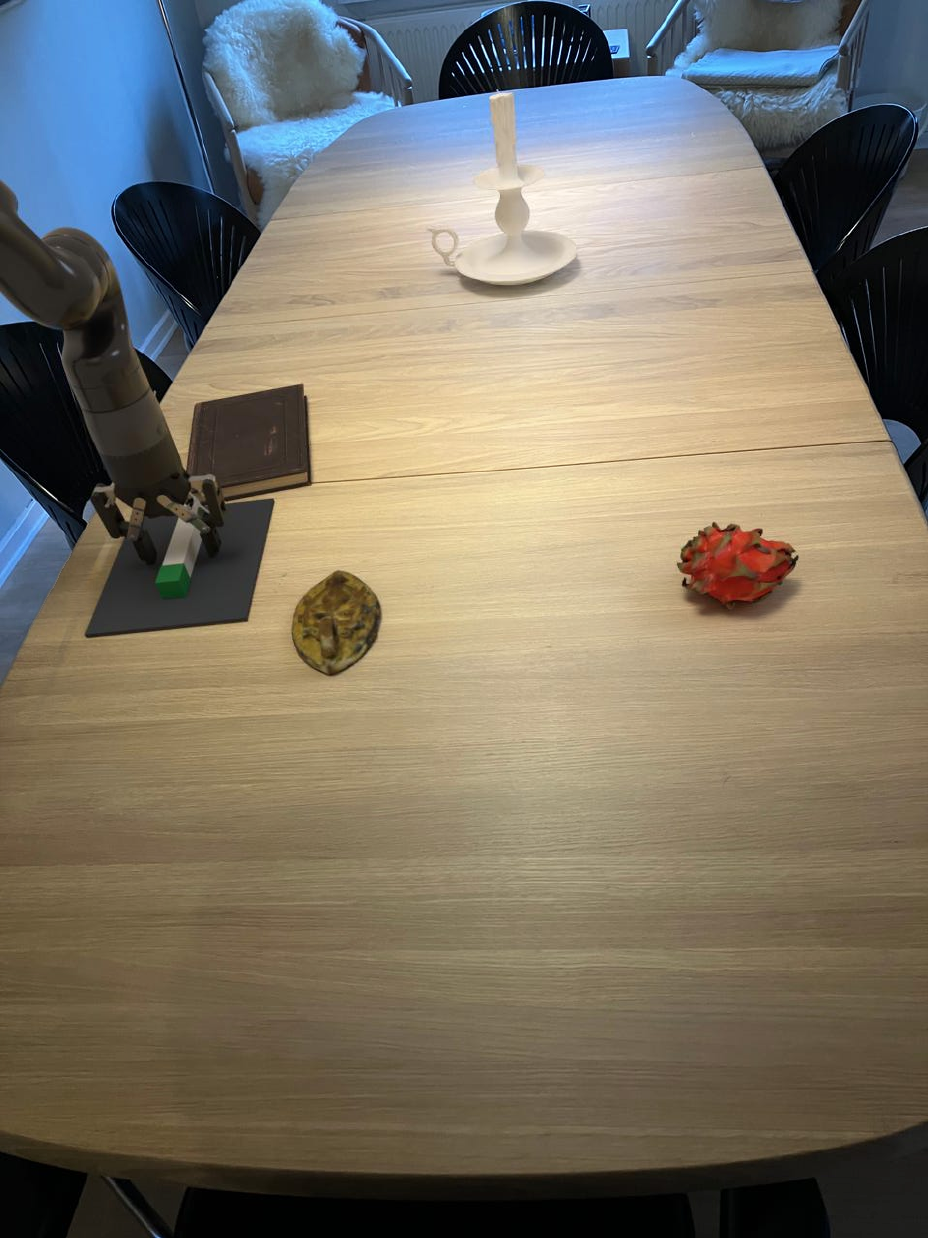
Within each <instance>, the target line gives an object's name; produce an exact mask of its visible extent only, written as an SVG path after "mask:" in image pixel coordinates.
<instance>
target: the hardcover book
mask: <svg viewBox="0 0 928 1238" xmlns="http://www.w3.org/2000/svg"><path fill="white" fill-rule="evenodd" d="M308 412H309V411H308V396H307V394H306V395H305V385H304V383H303V382H302V383H297V384H292V385H287V386H281V387H275V388H271V389H265V390H264V389H263V390H259V391H255V392H253V391H252V392H248V393H243V394H238V395H232V396H227V397H222V398H216V399H212V400H206V401H201V402H197V403H195V404H194V407H193V414H192V420H191V421H192V423H191V429H190V437H189V443H188V444H189V446H188V453H187V462H186V466H185V467H186V468H185V470H186V471H187V472H188V473H189V474H190V475H191V476H204V475H206V472H207V471H209V470H213V471H215V472H216V473H217V476H218V479H219V483H220V486H221V490H222V493H223V497H224V500H225V502H227V501H232V500H239V499H243V498H249V497H254V496H259V495H264V494H269V493H276V492H279V491H285V490H291V489H296V488H301V487H306V486H307V487H308V486H311V485H312V470H311V453H310V451H311V450H310V431H309V413H308ZM190 492H191V493H192V494H193V495H194V496H196V497H197V498H198V499H199V500H200V503H201V505H202V506H207V502H206V499H205V497H201V496H200V494H199V492H198V490H196V489H195V488H191V490H190ZM184 505H186V503H185V504H184Z"/></svg>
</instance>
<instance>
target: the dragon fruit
mask: <svg viewBox="0 0 928 1238" xmlns="http://www.w3.org/2000/svg"><path fill="white" fill-rule="evenodd" d="M763 530H764V529H763V528H757V527H756V528H753V529H751V530H746V531H743V530H742V527H741V526H740V524H736V523H729V524H728V525H727V526H726V527H725V528H721V527H720V525H719V524H718V523H717V522H716V521H713V522H712V523H711V525H709V526H706V527H704V528H703V529H702V530H701V529H698V531H697V535H696V536H693V537H692V539H689V540H688V541H687V542H686V544H684V545H683V546H682V547H681V548H680V555H679V556H680V560H681V562H678V561H677V562H676V563H675V565H676V567H677V569H678V571H679V572H680V573H681V574H684V575H689V576H690V583H687V580H688V578H686V576H684V577H683V579H682V581H681V587H683V588H684V589H687V590H689V591H694V592H696V593H697V594H698V595H702V594H705V593H706V594H707V595H708V596H709V597H713V598H715V599H717V600H719V602H721V604H722V605H724V606H726V607H725V609H726V610H733V609H734V607H735V605H736V602H733V601H746V602H747V601H748V602H760V601H761V600H763V599H764V598H766V597H767V596H769V595H771V594H773V591H774V589H775V588H776V587H778V586H781V585H783V584H784V583H783V581H784V580H785V579H786V577H788V575H790V574H791V573H792V572H793V571H794V569H795V567H796V565H797V561H799V559H800V558H799V557H800V556H799V555H798V554H796V556H795V557H792V556H793V553H797V550H796V549H794V547H793V546H792V545H791V544H790V543H788V542H786V541H783V540H771V539H770V540H767V539H765V538H763V537H762V536H763V534H764V531H763Z"/></svg>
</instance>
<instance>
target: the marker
mask: <svg viewBox="0 0 928 1238" xmlns="http://www.w3.org/2000/svg"><path fill="white" fill-rule="evenodd" d="M201 542H202V539H201V536H200V531H199V530H198V529H197V528H195V527H194V526H193V525H192V524H191V523H185V522H184V521H183V520H181V519H180V518H178V521H177V524H176V527H175V530H174V533H173V536H172V539H171V542H170V544H169V547H168V550H167V553H166V556H165V559H164V562H163V565H162V566H161V567H160V570H159V573H158V576H157V579H156V582H155V584H156V586H157V588H158V590H159V592H160V595H161V597H162V599H171V598H180V597H186V595H187V591H188V588H189V585H190V582H191V574H192V571H193V568H194V565H195V561H196V558H197V555H198V551H199V548H200V545H201Z"/></svg>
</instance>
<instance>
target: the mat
mask: <svg viewBox="0 0 928 1238" xmlns="http://www.w3.org/2000/svg"><path fill="white" fill-rule="evenodd" d="M225 504H226V507H227V514H226V518H225V521H224V525H223V526H222V527H216V528H217V531H218V534H219V536H220V539H221V547H220V550H219V553H217V556H216V557H215V558H209V556H208V554H207V551H206V549H205V546H204V544H203V541H202V542H201V545H200V548H199V551H198V555H197V558H196V561H195V565H194V568H193V571H192V574H191V582H190V585H189V588H188V591H187V595H186V597H180V598H171V599H162V597H161V595H160V592H159V590H158V588H157V586H156V584H155V582H156V579H157V576H158V573H159V570H160V567H161V566H162V565H163V562H164V559H165V556H166V553H167V550H168V547H169V544H170V542H171V539H172V536H173V533H174V530H175V527H176V524H177V521H178V518H179V517H178V516H177V515H176V516H160V517H157V518H151V519H149V518H148V517H147V516H145V519H144V524H143V529H147V531H148V533H149V535H150V538H151V540H152V542H153V544H154V546H155V549H156V551H157V558H156V561H155V564H152V565H147V564H146V562H145V561H142V560H141V559H140V558H139V556H138V554H137V551H136V549H135V547H134V545H133V543H132V541H130V540H129V539H128V538H126V537H123V540H122V542H121V545H120V547H119V550H118V552H117V554H116V557H115V559H114V562H113V564H112V566H111V569H110V571H109V574H108V576H107V579H106V580H105V583H104V586H103V588H102V591H101V594H100V596H99V599H98V600H97V603H96V606H95V608H94V611H93V613H92V616H91V618H90V620H89V623H88V625H87V628H86V630H85V632H84V636H85V638H96V637H105V636H107V637H108V636H116V635H125V634H134V633H143V632H153V631H163V630H173V629H184V628H193V627H202V626H212V625H221V624H231V623H242V622H248V620H249V615H250V611H251V605H252V602H253V598H254V593H255V589H256V584H257V580H258V575H259V572H260V567H261V563H262V558H263V553H264V549H265V546H266V540H267V536H268V531H269V528H270V527H269V526H270V524H271V523H270V522H271V518H272V514H273V509H274V505H275V499H274V498H273V497H272V498H263V499H256V500H255V499H253V500H245V501H236V502H235V501H234V502H227V503H226V502H225ZM202 506H203V507H205V508H206V509H207V510H208V511H209V509H208V506H207V505H202Z"/></svg>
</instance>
